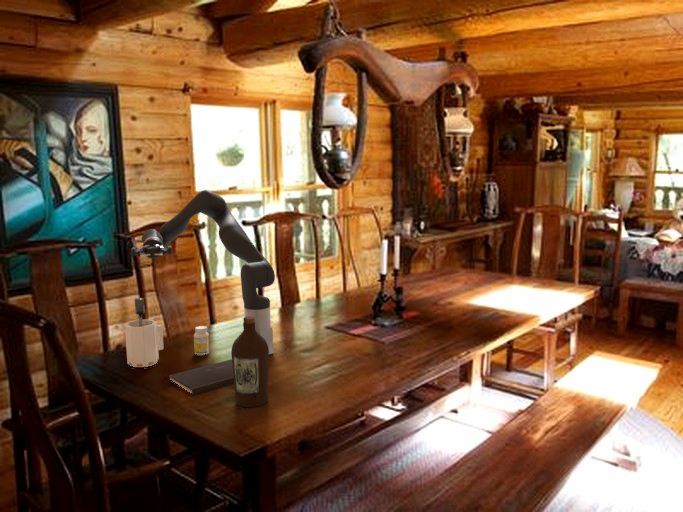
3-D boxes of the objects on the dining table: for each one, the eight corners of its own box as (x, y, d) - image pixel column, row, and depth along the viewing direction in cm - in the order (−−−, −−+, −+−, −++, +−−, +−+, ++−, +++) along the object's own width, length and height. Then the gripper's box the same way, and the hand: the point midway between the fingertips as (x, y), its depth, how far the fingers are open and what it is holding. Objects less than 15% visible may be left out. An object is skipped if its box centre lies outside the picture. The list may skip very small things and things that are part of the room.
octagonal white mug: (170, 361, 207) (168, 321, 205) (138, 371, 198) (135, 329, 196) (154, 355, 214) (152, 316, 211) (122, 364, 205) (119, 323, 202)
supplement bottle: (203, 356, 213) (202, 330, 211) (191, 354, 215) (190, 328, 213) (212, 351, 217) (211, 326, 216) (200, 350, 220) (199, 324, 218)
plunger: (156, 351, 205) (153, 298, 202) (139, 357, 200) (135, 302, 197) (146, 347, 209) (142, 295, 206) (128, 352, 204) (124, 299, 201)
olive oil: (240, 393, 179) (237, 312, 175) (274, 394, 177) (272, 313, 173) (228, 407, 169) (224, 322, 165) (264, 409, 167) (261, 323, 163)
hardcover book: (169, 382, 190) (168, 375, 189) (232, 365, 205) (231, 359, 204) (192, 397, 178) (192, 389, 177) (257, 378, 193) (257, 371, 192)
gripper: (132, 238, 228) (129, 244, 212) (171, 236, 231) (171, 242, 216) (134, 257, 229) (131, 264, 213) (172, 255, 233) (172, 262, 217)
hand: (151, 253), depth 215 cm, fingers open, 8 cm apart
